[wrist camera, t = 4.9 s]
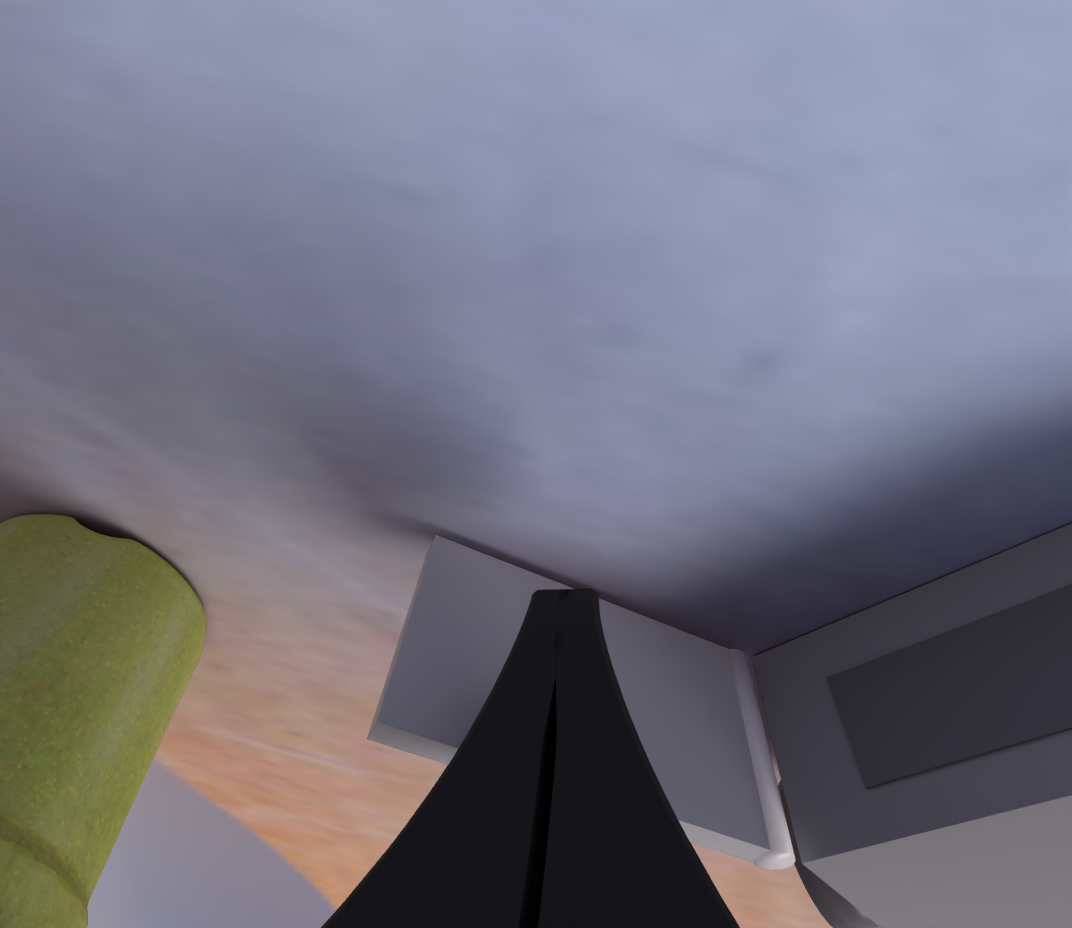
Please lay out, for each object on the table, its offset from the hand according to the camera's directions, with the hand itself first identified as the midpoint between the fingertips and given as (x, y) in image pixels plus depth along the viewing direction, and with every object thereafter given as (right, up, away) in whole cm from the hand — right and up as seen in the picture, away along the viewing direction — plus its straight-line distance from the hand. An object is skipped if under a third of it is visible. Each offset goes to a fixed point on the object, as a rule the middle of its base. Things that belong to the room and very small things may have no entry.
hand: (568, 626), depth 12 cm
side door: (+1, -1, +4) cm, 4 cm away
